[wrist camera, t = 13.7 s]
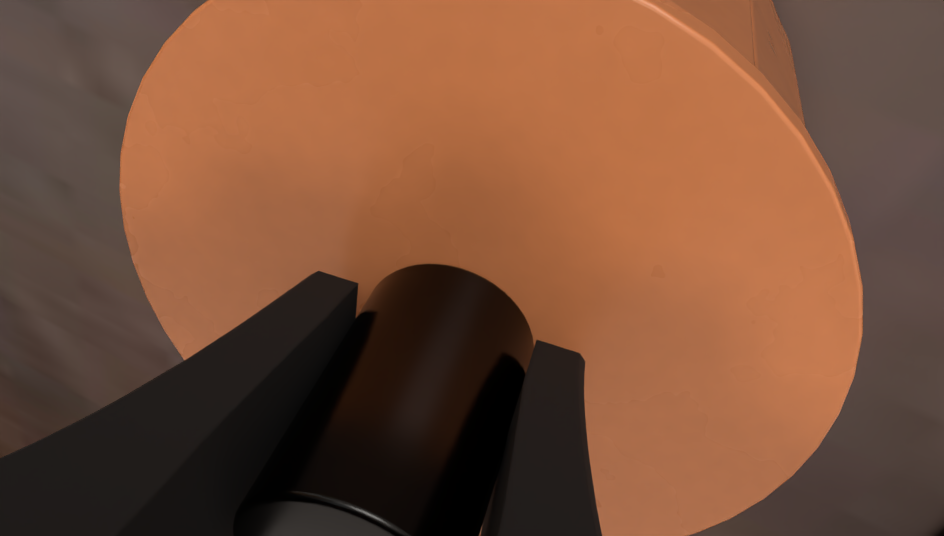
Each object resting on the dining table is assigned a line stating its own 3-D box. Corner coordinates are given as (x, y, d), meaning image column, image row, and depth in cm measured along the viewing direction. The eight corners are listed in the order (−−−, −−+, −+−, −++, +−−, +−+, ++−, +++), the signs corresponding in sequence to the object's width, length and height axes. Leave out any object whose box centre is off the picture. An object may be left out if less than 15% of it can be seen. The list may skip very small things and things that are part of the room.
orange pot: (691, 322, 20) (678, 525, 15) (346, 217, 21) (226, 372, 16) (882, -70, 13) (974, 57, 8) (368, -191, 15) (179, -142, 10)
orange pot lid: (687, 570, 15) (672, 884, 11) (192, 399, 16) (16, 623, 12) (1051, 53, 8) (1396, 413, 4) (111, -179, 9) (-381, -98, 5)
